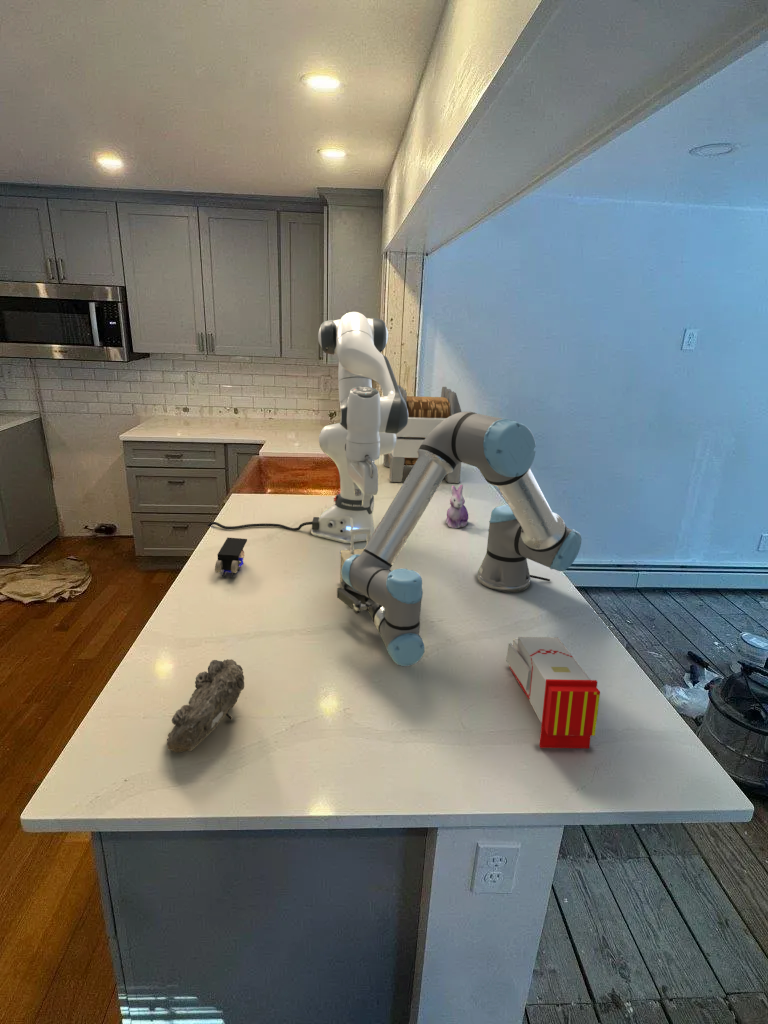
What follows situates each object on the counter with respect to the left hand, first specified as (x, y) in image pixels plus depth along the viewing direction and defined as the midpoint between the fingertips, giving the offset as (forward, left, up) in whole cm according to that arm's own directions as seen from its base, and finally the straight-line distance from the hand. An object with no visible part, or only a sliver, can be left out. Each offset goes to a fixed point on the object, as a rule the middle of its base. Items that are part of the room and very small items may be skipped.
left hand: (361, 500), depth 153 cm
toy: (+52, -35, -26) cm, 68 cm away
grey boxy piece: (-10, +122, -26) cm, 125 cm away
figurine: (+19, +60, -26) cm, 68 cm away
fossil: (-9, -61, -26) cm, 67 cm away
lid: (+2, -4, -16) cm, 17 cm away
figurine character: (-38, -4, -26) cm, 46 cm away
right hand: (+4, -7, -19) cm, 20 cm away
